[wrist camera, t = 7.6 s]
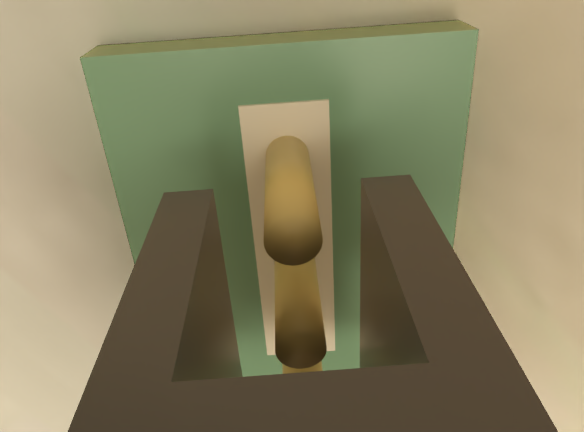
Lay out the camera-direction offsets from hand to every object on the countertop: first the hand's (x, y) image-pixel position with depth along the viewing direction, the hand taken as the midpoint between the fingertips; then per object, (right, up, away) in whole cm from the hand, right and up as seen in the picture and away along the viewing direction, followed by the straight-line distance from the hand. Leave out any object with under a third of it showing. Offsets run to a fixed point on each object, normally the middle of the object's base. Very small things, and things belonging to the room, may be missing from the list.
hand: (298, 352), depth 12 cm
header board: (0, +3, +5) cm, 6 cm away
